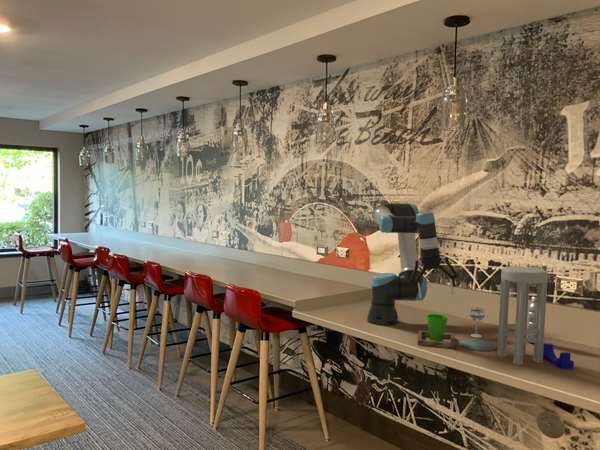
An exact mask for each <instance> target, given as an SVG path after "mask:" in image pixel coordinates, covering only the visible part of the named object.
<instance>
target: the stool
mask: <svg viewBox="0 0 600 450" xmlns="http://www.w3.org/2000/svg"><path fill="white" fill-rule="evenodd" d="M500 274H501V277H500V278H501V280H500V294H499V295H500V297H499V314H498V315H499V317H498V335H497V336H498V337H497V354H496V355H497V356H498V357H500V358H501V357H502V358H503V357H504V358H505V357H507V345H508V341H507V340H508V336H514V342H513V343H514V345H513V360H512V363H513V364H514V365H516V366H520V365H523V363H524V361H523V360H524V359H523V358H524V356H525V355H527V354H526V351H527V343H531V342H534V343H533V344H534V345H533V360H532V361H533V362H535V363H537V364H541V363H544V361H543V347H544V343H545V330H546V329H545V328H546V326H545V325H546V310H547V309H546V306H547V295H548V294H547V289H548V276H549V275H548V271H546V270H545V269H543V268H538V267H532V266H531V267H530V266H519V265H515V266H512V265H511V266H504V267H502V268H501V273H500ZM510 282H514V283H515V282H516V284H517V286H516V302H515V303H516V304H515V305H516V306H515V321H514V322H515V323H509V308H510V307H509V305H510V287H511V286H510V285H511V283H510ZM530 284H537V288H536V289H537V290H536V296H537V305H536V323H535V330H528V306H529V297H530ZM511 328H513V329H514V331H508V329H511ZM527 334H535V338H526V336H527Z"/></svg>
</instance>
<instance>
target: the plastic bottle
mask: <svg viewBox="0 0 600 450" xmlns="http://www.w3.org/2000/svg"><path fill="white" fill-rule="evenodd" d="M536 305H537V295H532V296H531V302H530V303H529V304H528V317H527V330H535V323H536ZM526 338H535V334H527V336H526ZM530 343H531V344H534V342H530Z"/></svg>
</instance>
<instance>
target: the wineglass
mask: <svg viewBox="0 0 600 450" xmlns="http://www.w3.org/2000/svg"><path fill="white" fill-rule="evenodd" d="M468 315H469V317H470V319H472V320H473V321H474V322H475V333H470V336H471V337H473V338H474V337H475V338H482V337H483V336H482V335H481V334H479V333H478V324H479V322H481V321H482V320H484V319H485V316H486V309H484V308H482V307H475V306H474V307H469V312H468Z"/></svg>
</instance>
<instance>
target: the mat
mask: <svg viewBox="0 0 600 450" xmlns="http://www.w3.org/2000/svg"><path fill="white" fill-rule="evenodd" d="M460 346H462V347H463V348H465V349H469V350H471V351H476V352H477V351H478V352H492V351H496V350H497V345H496V344H494V343H492V342H489V341H487V340H482V339H480V340H479V339H464V340H461V341H460Z"/></svg>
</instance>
